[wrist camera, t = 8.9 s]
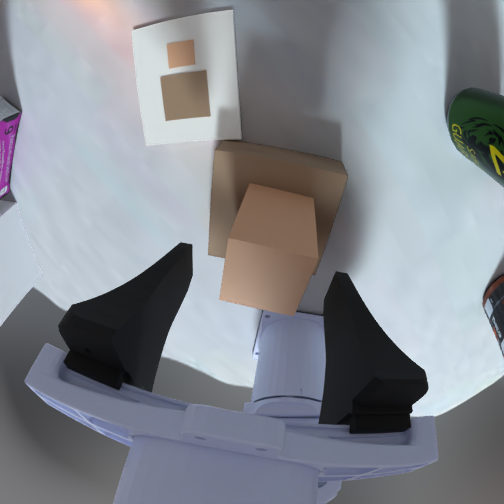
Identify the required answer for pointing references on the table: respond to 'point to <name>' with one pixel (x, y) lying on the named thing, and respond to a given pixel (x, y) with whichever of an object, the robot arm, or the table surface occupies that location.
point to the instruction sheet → (188, 79)
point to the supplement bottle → (496, 309)
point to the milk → (14, 259)
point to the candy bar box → (7, 142)
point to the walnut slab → (271, 186)
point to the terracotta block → (270, 250)
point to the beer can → (479, 129)
